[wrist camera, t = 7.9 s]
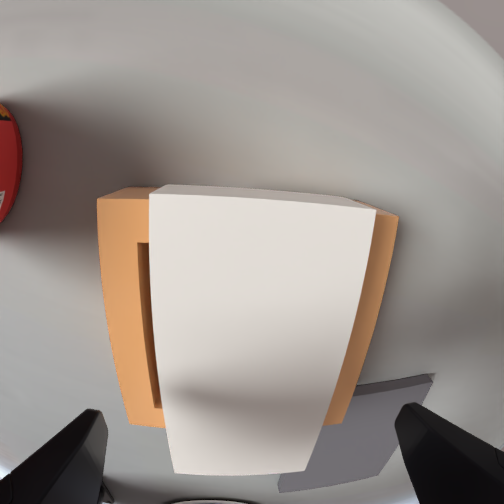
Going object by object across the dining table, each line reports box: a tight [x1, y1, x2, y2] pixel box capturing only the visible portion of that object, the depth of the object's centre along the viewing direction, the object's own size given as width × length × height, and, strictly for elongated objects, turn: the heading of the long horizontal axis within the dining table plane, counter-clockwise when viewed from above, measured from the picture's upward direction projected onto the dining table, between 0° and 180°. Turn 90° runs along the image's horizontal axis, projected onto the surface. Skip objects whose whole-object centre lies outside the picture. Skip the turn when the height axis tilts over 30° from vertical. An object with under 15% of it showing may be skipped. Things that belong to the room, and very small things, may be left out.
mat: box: [278, 374, 433, 493], centre depth 20 cm, size 13×10×1 cm
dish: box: [97, 187, 399, 428], centre depth 14 cm, size 11×11×4 cm
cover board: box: [149, 184, 376, 475], centre depth 11 cm, size 12×6×2 cm, turn 175°
